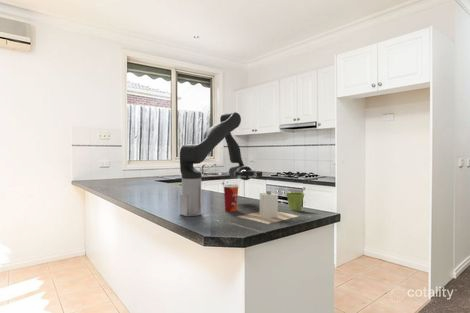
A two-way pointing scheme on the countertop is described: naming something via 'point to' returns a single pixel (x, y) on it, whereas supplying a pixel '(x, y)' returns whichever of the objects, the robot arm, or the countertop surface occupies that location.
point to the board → (267, 220)
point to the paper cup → (230, 196)
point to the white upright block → (268, 205)
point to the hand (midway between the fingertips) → (251, 174)
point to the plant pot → (295, 201)
